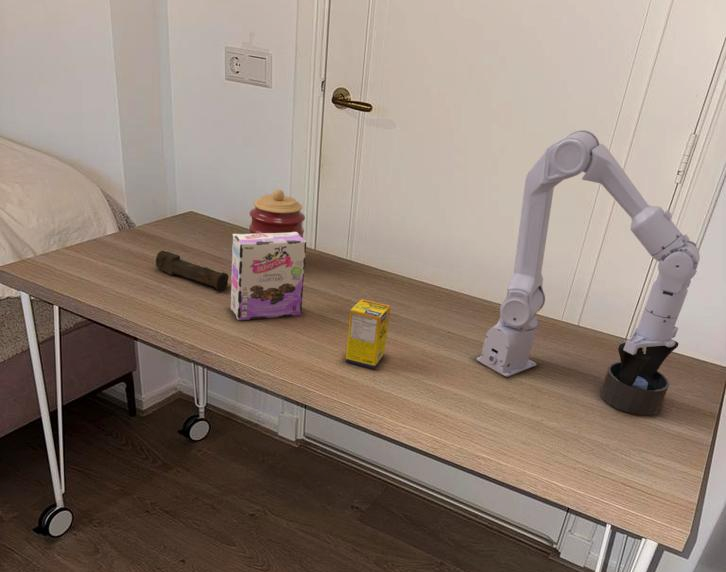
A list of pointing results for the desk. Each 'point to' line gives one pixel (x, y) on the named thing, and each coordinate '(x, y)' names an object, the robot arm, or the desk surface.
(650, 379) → the dark grey round bowl
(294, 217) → the kitchen canister
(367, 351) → the supplement box
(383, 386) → the desk surface
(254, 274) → the candy box
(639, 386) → the decorative dice
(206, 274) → the hand tool
